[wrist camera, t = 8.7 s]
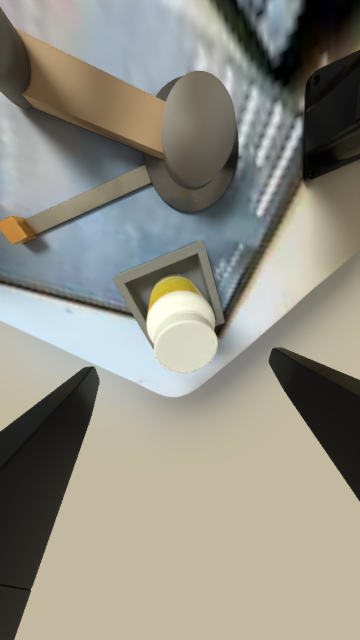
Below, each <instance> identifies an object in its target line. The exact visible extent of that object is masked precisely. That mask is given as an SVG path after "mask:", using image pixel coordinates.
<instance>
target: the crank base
mask: <svg viewBox="0 0 360 640" xmlns="http://www.w3.org/2000/svg"><path fill="white" fill-rule="evenodd" d="M182 77H183V76H181V77H179V78H176V79H174V80H172V81H171V82H169V83H168V84H166V85H165V86H164V87H163V88H162V89H161V90H160V91H159V93H158V94H157V95H156V97H157V98H159V99H161V100H163V101H165V102H166V100H167V98H168V95H169V93H170V91H171V90H172V88H173V86H174V85H175V84H176V82H177V81H178V80H179V79H180V78H182ZM143 154H144V160H145V165H146V167H145V165H143V166H141V167H139V168H136V169H134V170H132V171H130V172H128V173H125V174H123V175H121V176H119V177H117V178H115V179H112V180H110V181H108V182H106V183H104V184H101V185H99V186H97V187H95V188H93V189H91V190H88V191H86V192H84V193H82V194H80V195H78V196H75V197H73V198H71V199H69V200H67V201H64V202H62V203H60V204H58V205H56V206H54V207H51V208H49V209H47V210H45V211H43V212H40V213H38V214H36V215H34V216H32V217H30V218H27V219H25V220H24V218H20V217H15V216H11V217H9V218H7V219H4V220H2V221H0V230H1V232H2V233H3V234H4V235H5V236H6V238H7V239H8V240H9V241H10V243H11V244H23V243H26V242H28V241H30V240H32V239H35V238H37V236H36V235H37V234H39V233H41V232H43V231H46V230H48V229H50V228H52V227H55V226H57V225H59V224H61V223H63V222H66V221H68V220H70V219H72V218H75V217H77V216H79V215H81V214H83V213H86V212H88V211H90V210H92V209H95V208H97V207H99V206H101V205H103V204H106V203H108V202H110V201H112V200H115V199H117V198H119V197H121V196H123V195H126V194H128V193H130V192H132V191H135V190H137V189H139V188H141V187H144V186H146V185H148V184H150V183H152V185H153V186H154V188H155V190H156V191H157V193H158V194H159V195H160V196H161V198H162V199H163V200H164V201H165V202H167V203H168V204H169V205H171V206H172V207H174V208H176V209H178V210H181V211H186V212H195V211H200V210H203V209H205V208H207V207H209V206H210V205H212V204H213V203H215V202H216V201H217V200H218V199H219V198H220V197H221V196H222V194H223V193H224V192H225V190H226V189H227V187H228V185H229V183H230V181H231V179H232V176H233V174H234V170H235V167H236V162H237V156H238V132H237V126H236V129H235V138H234V143H233V147H232V150H231V153H230V156H229V158H228V160H227V161H226V163H225V165H224V166H223V167H222V169H221V170H220V171H219V172H218V173H217V175H216V176H215V177H214V178H213V179H212V180H211V182H210V183H208V184H207V185H206V186H204V187H203V188H200V189H197V190H188V189H184V188H182V187H180V186H179V185H178V184H176V183H175V182H174V181H173V179H172V178H171V177H170V175H169V173H168V172H167V170H166V167H165V164H164V161H163V160H162V159H159V158H157V157H154V156H152V155H150V154H147V153H145V152H143ZM146 169H147V170H146ZM150 180H151V181H150Z"/></svg>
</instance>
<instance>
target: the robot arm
mask: <svg viewBox="0 0 360 640" xmlns="http://www.w3.org/2000/svg"><path fill="white" fill-rule="evenodd" d="M314 80H315V85H314V82H313V81H314ZM359 159H360V50H359V51H356V52H354V53H352V54H350V55H348V56H346V57H344V58H341V59H339V60H337V61H335V62H333V63H331V64H328V65H326V66H324V67H322V68H320V69H318V70H316V71H315V72H314V73H313V74H312V75H311V76H310V78H309V79H308V81H307V84H306V102H305V143H304V179H305V180H306V181H309V180H311V179H314V178H316V177H319V176H321V175H323V174H326V173H328V172H330V171H333V170H335V169H338V168H340V167H342V166H345V165H347V164H349V163H352V162H354V161H357V160H359ZM310 171H311V172H312V173H311V175H310ZM269 364H270V366H271V368H272V370H273V372H274V373H275V375H276V377H277V378H278V381H279V382H280V384H281V386H282V388H283V389H284V391H285V392H286V394H287V396H288V397H289V399H290V400H291V401H292V403H293V405H294V406H295V407H296V409H297V410H298V412H299V413H300V415H301V416H302V418H303V419H304V421H305V422H306V424H307V425H308V426H309V428H310V429H311V431H312V432H313V434H314V435H315V437H316V438H317V440H318V441H319V443H320V444H321V445H322V447H323V448H324V450H325V451H326V453H327V454H328V456H329V457H330V459H331V460H332V462H333V463H334V465H335V466H336V467H337V469H338V470H339V471H340V473H341V475H342V476H343V478H344V479H345V481H346V482H347V484H348V485H349V487H350V488H351V489H352V491H353V492H354V493H355V495H356V497H357V498H358V500H359V501H360V380H358V379H356V378H353V377H351V376H349V375H347V374H344V373H341V372H339V371H337V370H334V369H332V368H330V367H327V366H325V365H323V364H320V363H318V362H315V361H313V360H311V359H308V358H306V357H304V356H301V355H299V354H296V353H294V352H292V351H289V350H287V349H284V348H281V347H278V348H273V349H272V351H271V354H270V357H269ZM98 386H99V377H98V374H97V371H96V369H95V367H93V366H91V367H84V368H83V369H81V370H80V371H79V372H77V373H76V374H75V375H74V376H72V377H71V378H70V379H68V380H67V381H66V382H65V383H63V384H62V385H60V386H59V387H58V388H57V389H55V390H54V391H53V392H51V393H50V394H49V395H47V396H46V397H45V398H43V399H42V400H41V401H40V402H38V403H37V404H36V405H34V406H33V407H32V408H31V409H29V410H28V411H27V412H25V413H24V414H23V415H21V416H20V417H19V418H17V419H16V420H15V421H13V422H12V423H11V424H10V425H8V426H7V427H6V428H4V429H3V430H2V431H0V640H14V639H15V636H16V633H17V630H18V627H19V624H20V622H21V619H22V616H23V613H24V610H25V607H26V604H27V601H28V598H29V595H30V592H31V590H30V589H31V588H32V586H33V583H34V580H35V578H36V575H37V572H38V569H39V566H40V563H41V560H42V558H43V554H44V552H45V549H46V546H47V543H48V540H49V537H50V534H51V532H52V529H53V526H54V523H55V520H56V517H57V514H58V511H59V509H60V506H61V503H62V500H63V497H64V494H65V491H66V488H67V485H68V483H69V480H70V477H71V474H72V471H73V468H74V465H75V462H76V460H77V457H78V454H79V451H80V448H81V445H82V442H83V439H84V437H85V434H86V431H87V428H88V425H89V422H90V419H91V416H92V412H93V408H94V404H95V399H96V395H97V391H98Z"/></svg>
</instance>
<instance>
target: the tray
mask: <svg viewBox="0 0 360 640" xmlns="http://www.w3.org/2000/svg"><path fill="white" fill-rule="evenodd" d="M171 274H179V275H183V276H185V277H187V278H189V279H190V280H191V281H192V282H193V283H194V284H195V286H196V287H197V288H198V290H199V291H200V293H201V294H202V295H203V297H204V298H205V299H206V301H207V302H208V303H209V305H210V306H211V308H212V310H213V312H214V316H215V326H217V325H220V324H223V323H225V321H224V317H223V313H222V309H221V306H220V302H219V298H218V294H217V290H216V286H215V282H214V278H213V275H212V271H211V267H210V263H209V259H208V255H207V251H206V247H205V244H204V241H196V242H194V243H191V244H189V245H186V246H184V247H182V248H179V249H177V250H174V251H172V252H170V253H167V254H165V255H162V256H160V257H158V258H155V259H153V260H150V261H148V262H146V263H143V264H141V265H138V266H136V267H134V268H131V269H129V270H126V271H124V272H122V273H119V274H117V275H116V276H115V277H114V278H112V280H113V281H114V283H115V285H116V286H117V288H118V290H119V292H120V293H121V295H122V297H123V298H124V300H125V302H126V303H127V305H128V307H129V309H130V310H131V312H132V314H133V315H134V317H135V319H136V321H137V322H138V324H139V326H140V327H141V329H142V331H143V333H144V334H145V336H146V338H147V339H148V341H149V343H150V344H151V346H152V348H153V350H154V344H153V342H152V341H151V339H150V338H149V335H148V332H147V326H146V323H147V314H148V308H149V303H150V297H151V292H152V290H153V287H154V286H155V284H156V283H157V282H158V281H159V280H160V279H161V278H163V277H164V276H167V275H171Z"/></svg>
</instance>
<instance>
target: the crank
mask: <svg viewBox="0 0 360 640" xmlns="http://www.w3.org/2000/svg"><path fill="white" fill-rule="evenodd" d="M0 91H1V92H2V93H3V94H4V95H5V96H6V97H7V98H8V99H9V100H10V101H11V102H13V103H14V104H16V105H17V106H19V107H22V108H25V109H32V108H36V109H39V110H41V111H44V112H46V113H49V114H51V115H54V116H56V117H59V118H61V119H63V120H66V121H68V122H71V123H73V124H76V125H78V126H81V127H83V128H86V129H88V130H90V131H93V132H95V133H98V134H100V135H103V136H105V137H108V138H110V139H113V140H115V141H118V142H120V143H122V144H125V145H127V146H130V147H132V148H135V149H137V150H140V151H142V152H145V153H147V154H150V155H152V156H154V157H157V158H159V159H162V160H163V161H164V164H165V167H166V170H167V172H168V173H169V175H170V177H171V178H172V179H173V181H174V182H175V183H176V184H178V185H179V186H180V187H182V188H184V189H188V190H197V189H200V188H203V187H204V186H206V185H207V184H208V183H210V182H211V180H212V179H213V178H214V177H215V176H216V175H217V173H218V172H219V171H220V170H221V169H222V167H223V166H224V165H225V163H226V161H227V160H228V158H229V156H230V153H231V150H232V147H233V143H234V138H235V129H236V121H235V112H234V107H233V103H232V100H231V98H230V95H229V93H228V91H227V89H226V88H225V86H224V85H223V84H222V82H221V81H220V80H219V79H218V78H217V77H215V76H214V75H212V74H210V73H208V72H204V71H194V72H190V73H188V74H186V75H185V76H183V77H182V78H180V79H179V80H178V81H177V82H176V84H175V85H174V86H173V88H172V90H171V91H170V93H169V95H168V98H167V100H166V102H165V101H163V100H161V99H159V98H157V97H155V96H153V95H151V94H149V93H147V92H145V91H143V90H141V89H138V88H136V87H134V86H132V85H130V84H128V83H126V82H124V81H122V80H120V79H118V78H116V77H114V76H112V75H110V74H108V73H106V72H104V71H102V70H100V69H98V68H96V67H94V66H92V65H90V64H88V63H86V62H84V61H82V60H80V59H77V58H75V57H73V56H71V55H69V54H67V53H65V52H63V51H61V50H59V49H57V48H55V47H53V46H51V45H49V44H47V43H45V42H43V41H41V40H39V39H37V38H35V37H33V36H31V35H29V34H27V33H25V32H23V31H21V30H19V29H17V28H14V27H13V25H12V24H11V22H10V21H9V19H8V18H7V16H6V15H5V13H4V12H3V10H2V9H1V8H0Z"/></svg>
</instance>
